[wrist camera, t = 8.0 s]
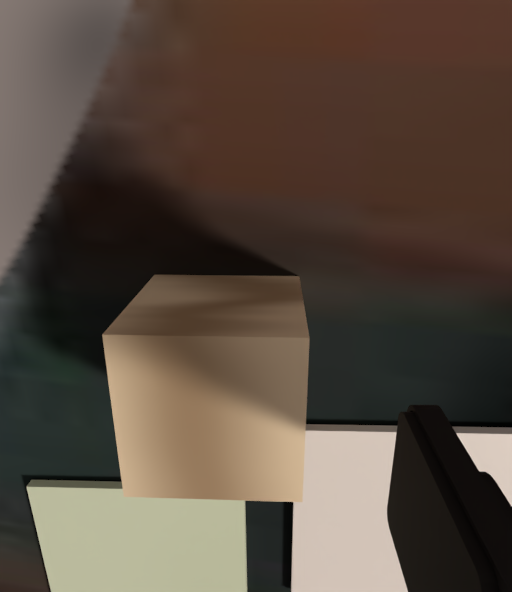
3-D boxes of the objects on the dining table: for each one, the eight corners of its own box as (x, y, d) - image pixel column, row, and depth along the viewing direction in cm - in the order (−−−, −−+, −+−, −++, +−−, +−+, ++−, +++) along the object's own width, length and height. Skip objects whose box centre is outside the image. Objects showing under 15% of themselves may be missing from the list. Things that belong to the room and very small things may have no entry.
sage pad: (244, 484, 18) (244, 491, 18) (248, 632, 21) (247, 641, 21) (31, 479, 19) (26, 486, 18) (64, 626, 22) (61, 635, 21)
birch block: (299, 275, 15) (309, 338, 10) (294, 400, 17) (302, 502, 12) (154, 274, 15) (102, 334, 11) (165, 397, 17) (123, 496, 12)
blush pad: (532, 428, 17) (539, 434, 16) (491, 595, 20) (496, 604, 19) (295, 423, 17) (295, 430, 17) (291, 589, 20) (291, 598, 20)
